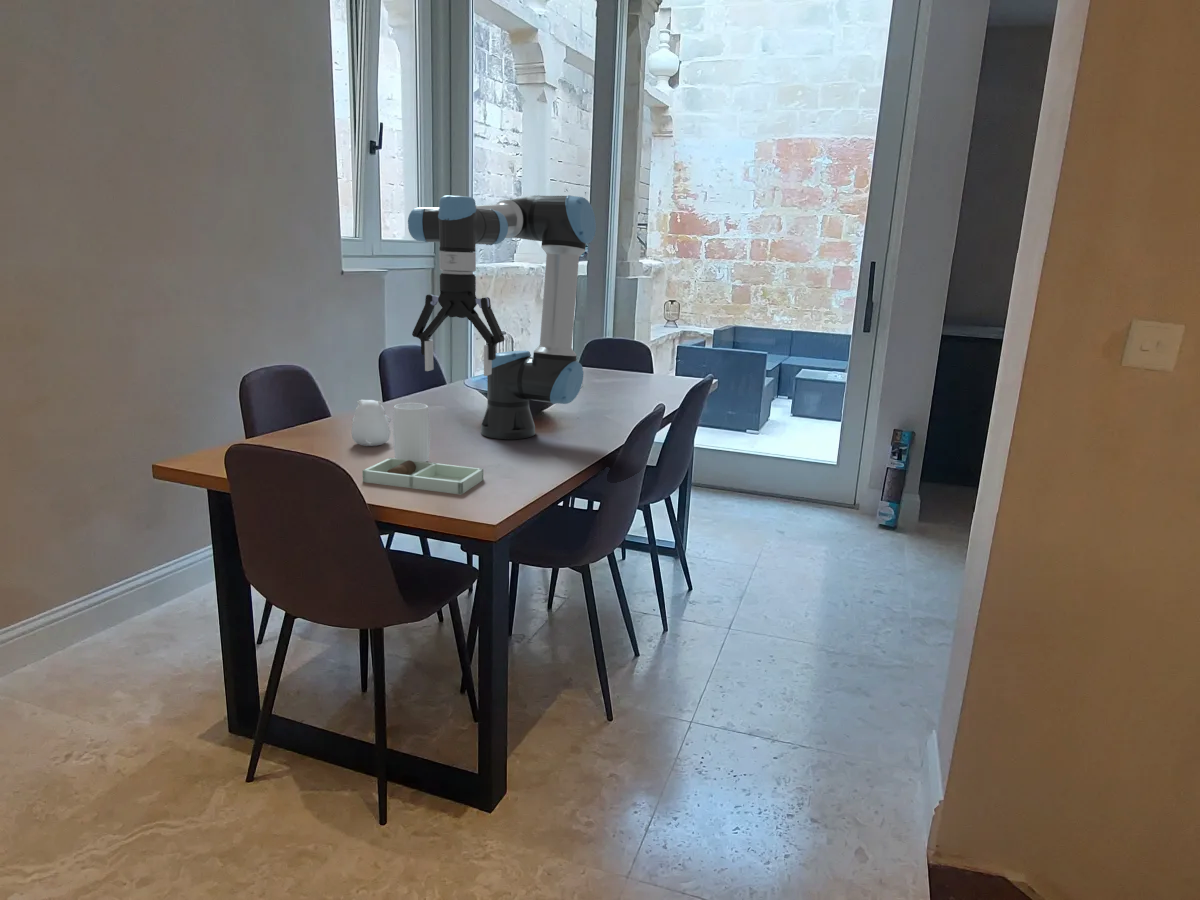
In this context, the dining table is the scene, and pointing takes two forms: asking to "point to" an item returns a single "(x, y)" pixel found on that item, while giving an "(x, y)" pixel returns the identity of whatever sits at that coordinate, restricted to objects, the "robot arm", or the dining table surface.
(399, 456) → the cup
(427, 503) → the dining table surface
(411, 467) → the dowel
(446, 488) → the caddy
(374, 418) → the figurine
